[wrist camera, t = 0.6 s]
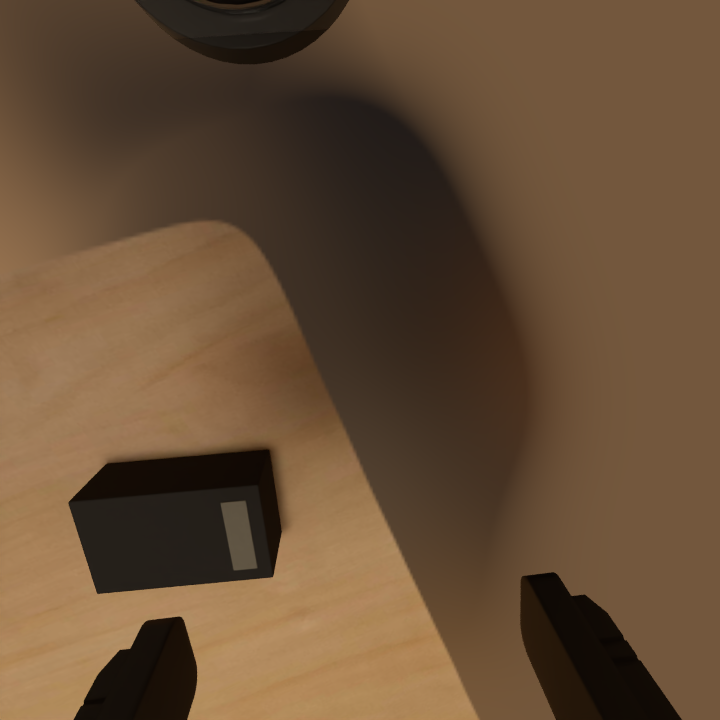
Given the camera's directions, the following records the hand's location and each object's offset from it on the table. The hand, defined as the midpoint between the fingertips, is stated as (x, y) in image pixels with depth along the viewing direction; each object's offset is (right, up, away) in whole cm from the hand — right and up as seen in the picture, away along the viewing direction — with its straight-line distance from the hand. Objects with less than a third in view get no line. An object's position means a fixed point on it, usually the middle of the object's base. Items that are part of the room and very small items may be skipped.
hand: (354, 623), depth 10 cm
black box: (-9, -2, +14) cm, 17 cm away
